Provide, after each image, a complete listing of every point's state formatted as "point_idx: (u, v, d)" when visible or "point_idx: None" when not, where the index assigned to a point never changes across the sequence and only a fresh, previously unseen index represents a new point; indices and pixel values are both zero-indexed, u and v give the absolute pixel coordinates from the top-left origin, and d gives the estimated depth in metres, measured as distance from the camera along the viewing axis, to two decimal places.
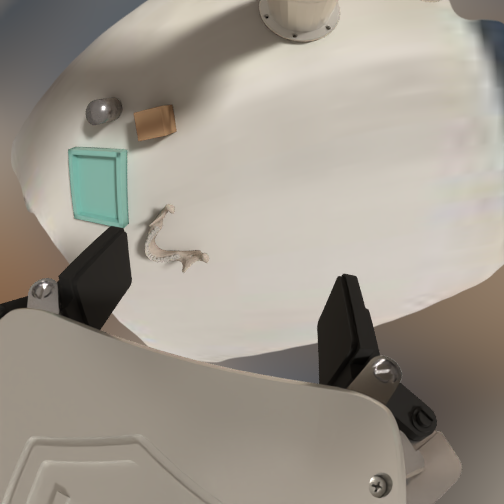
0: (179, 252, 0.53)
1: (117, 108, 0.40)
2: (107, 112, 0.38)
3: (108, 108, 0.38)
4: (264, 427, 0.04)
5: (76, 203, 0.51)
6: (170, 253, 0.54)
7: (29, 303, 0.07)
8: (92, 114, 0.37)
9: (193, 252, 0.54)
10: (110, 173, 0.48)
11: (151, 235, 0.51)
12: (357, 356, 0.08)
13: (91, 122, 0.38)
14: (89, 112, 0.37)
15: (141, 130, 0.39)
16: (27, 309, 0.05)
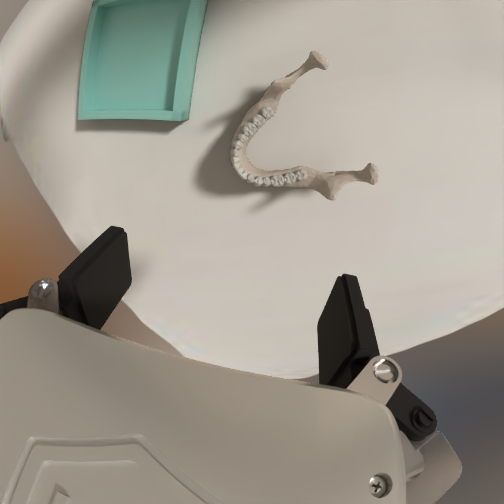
0: (305, 168, 0.25)
1: None
2: None
3: None
4: (264, 427, 0.04)
5: (86, 90, 0.23)
6: (283, 171, 0.26)
7: (29, 303, 0.07)
8: None
9: None
10: (168, 26, 0.21)
11: (252, 125, 0.23)
12: (357, 356, 0.08)
13: None
14: None
15: None
16: (27, 309, 0.05)
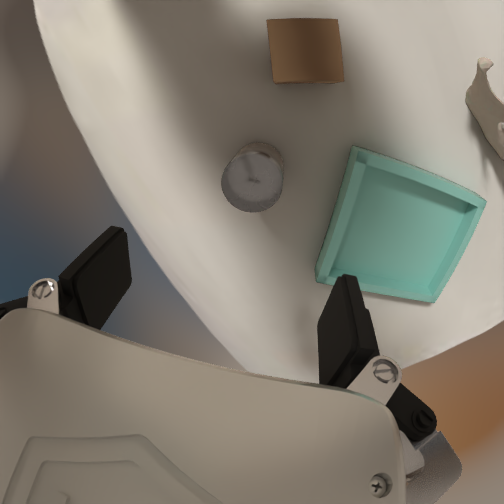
0: None
1: (257, 145, 0.22)
2: (260, 154, 0.20)
3: (251, 151, 0.20)
4: (263, 427, 0.04)
5: (415, 291, 0.28)
6: None
7: (29, 303, 0.07)
8: (253, 194, 0.21)
9: None
10: (390, 197, 0.24)
11: None
12: (357, 356, 0.08)
13: (273, 198, 0.21)
14: (248, 200, 0.21)
15: (319, 68, 0.16)
16: (27, 309, 0.05)
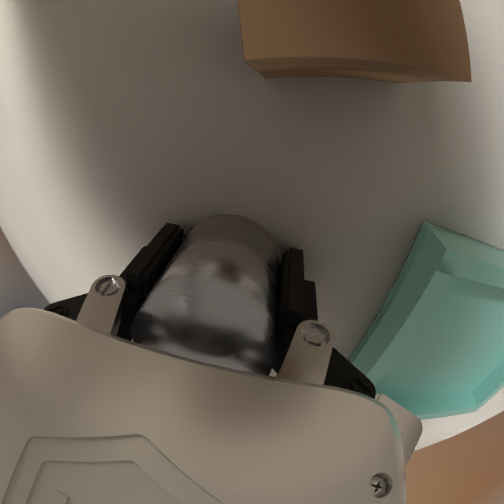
0: None
1: (220, 232, 0.10)
2: (214, 289, 0.07)
3: (195, 274, 0.08)
4: (264, 427, 0.04)
5: (457, 407, 0.15)
6: None
7: (88, 296, 0.07)
8: None
9: None
10: (463, 307, 0.12)
11: None
12: (289, 319, 0.09)
13: None
14: None
15: (403, 26, 0.03)
16: (27, 309, 0.05)
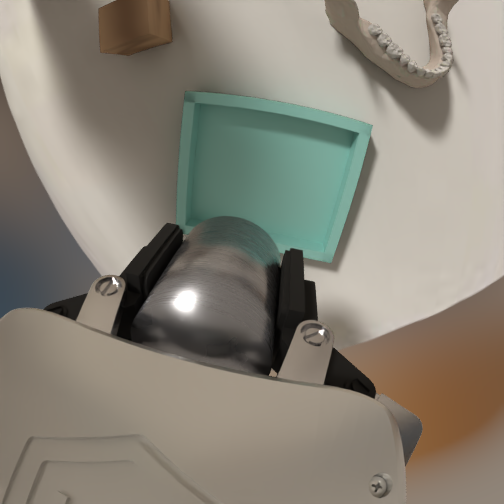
0: (428, 14, 0.12)
1: (219, 234, 0.10)
2: (214, 292, 0.07)
3: (195, 277, 0.08)
4: (263, 427, 0.04)
5: (298, 245, 0.27)
6: (433, 35, 0.14)
7: (89, 296, 0.07)
8: None
9: (426, 1, 0.12)
10: (240, 135, 0.23)
11: (391, 45, 0.14)
12: (289, 319, 0.09)
13: None
14: None
15: (130, 30, 0.15)
16: (27, 309, 0.05)
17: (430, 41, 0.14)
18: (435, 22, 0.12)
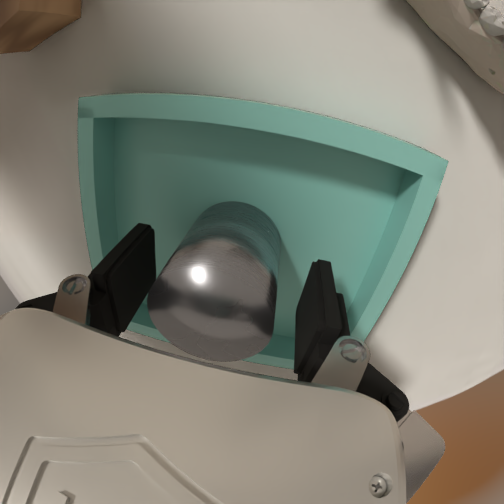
0: None
1: (226, 215, 0.11)
2: (224, 258, 0.09)
3: (207, 247, 0.09)
4: (263, 427, 0.04)
5: (290, 355, 0.16)
6: None
7: (58, 297, 0.07)
8: (214, 337, 0.10)
9: None
10: (184, 172, 0.12)
11: (489, 9, 0.03)
12: (325, 335, 0.08)
13: (255, 346, 0.10)
14: (204, 345, 0.10)
15: (1, 14, 0.04)
16: (27, 309, 0.05)
17: None
18: None
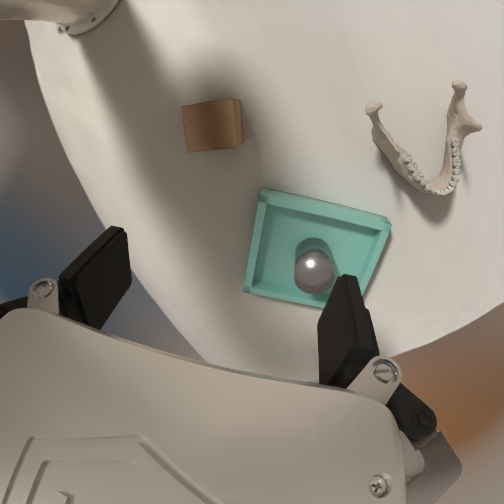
0: (449, 136, 0.23)
1: (315, 243, 0.33)
2: (321, 258, 0.30)
3: (315, 255, 0.30)
4: (264, 427, 0.04)
5: None
6: (448, 154, 0.24)
7: (29, 303, 0.06)
8: (315, 283, 0.31)
9: (450, 118, 0.23)
10: (296, 226, 0.34)
11: (415, 172, 0.25)
12: (357, 356, 0.08)
13: (327, 286, 0.31)
14: (310, 287, 0.31)
15: (217, 140, 0.26)
16: (27, 309, 0.05)
17: (445, 157, 0.25)
18: (452, 146, 0.22)
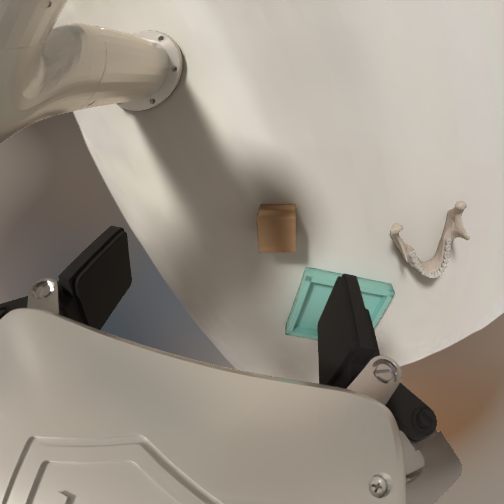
0: (444, 236, 0.35)
1: None
2: None
3: None
4: (264, 427, 0.04)
5: None
6: (442, 247, 0.36)
7: (29, 303, 0.07)
8: None
9: (449, 219, 0.35)
10: (328, 292, 0.46)
11: (416, 263, 0.37)
12: (357, 356, 0.08)
13: None
14: None
15: (283, 246, 0.37)
16: (27, 309, 0.05)
17: (439, 247, 0.37)
18: (446, 243, 0.35)
